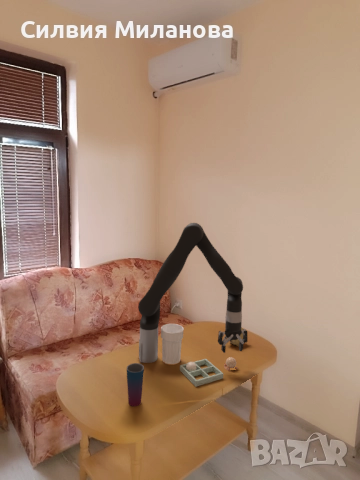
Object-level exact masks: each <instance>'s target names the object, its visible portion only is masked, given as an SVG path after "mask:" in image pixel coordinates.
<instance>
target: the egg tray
mask: <svg viewBox="0 0 360 480" xmlns="http://www.w3.org/2000/svg"><path fill="white" fill-rule="evenodd" d="M193 362H194V363H195V364H196V366H197V369H196V370H195V371H192V372H188V371H187V370H186V365H187V363H184V364H180V365H179V371H180V372H181V373H182V374H183V375H184V377H186V378H187V380H189V381H190V382H191V384H192V385H194V386H195V387H200V386H202V385H206V384H209V383H213V382H215V381H218V380H223V379H224V373H223V371H221V370H220V369H219V368H218V367H217V366H215V365H214V364H213V363H212V362H211V361H209V359H207V358H203V359H200V360H199V359H198V360H196V361H193ZM204 365H205V366H206V367H203V368H201V366H204ZM212 372H213V373H214V374H213V375H209V374H208V373H212ZM200 375H201V377H202V378H199V379H196V377H198V376H200Z"/></svg>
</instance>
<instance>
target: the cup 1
mask: <svg viewBox="0 0 360 480" xmlns="http://www.w3.org/2000/svg"><path fill="white" fill-rule="evenodd" d="M144 371H145V366H144V365H143V364H142V363H137V362H135V363H130V364H128V365H127V366H126V380H127V382H126V383H127V385H126V386H127V400H128V401H127V402H128V405H129V406H131V407H137V406H140V405H141V404H142V398H143V397H142V396H143V395H142V394H143V385H144V383H143V382H144Z"/></svg>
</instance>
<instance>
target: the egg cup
mask: <svg viewBox="0 0 360 480" xmlns="http://www.w3.org/2000/svg"><path fill="white" fill-rule="evenodd" d="M223 368H224V369H225V370H226V371H229V372H231V371H230V368H229V367H228V366H227V365H226V362H225V363H224V365H223ZM235 369H237V370H238V366H237V367H235Z"/></svg>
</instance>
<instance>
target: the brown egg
mask: <svg viewBox="0 0 360 480" xmlns="http://www.w3.org/2000/svg"><path fill="white" fill-rule="evenodd" d="M225 363H226V365H227V366H228V367H229V368H234V367H235V366H237V360H236V358H234V357H232V356H230V357H228V358H226V360H225Z"/></svg>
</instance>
